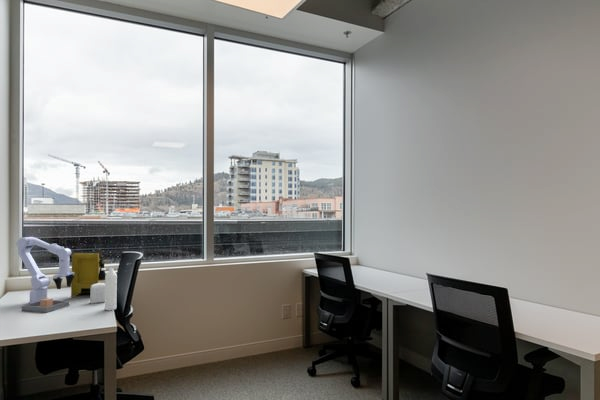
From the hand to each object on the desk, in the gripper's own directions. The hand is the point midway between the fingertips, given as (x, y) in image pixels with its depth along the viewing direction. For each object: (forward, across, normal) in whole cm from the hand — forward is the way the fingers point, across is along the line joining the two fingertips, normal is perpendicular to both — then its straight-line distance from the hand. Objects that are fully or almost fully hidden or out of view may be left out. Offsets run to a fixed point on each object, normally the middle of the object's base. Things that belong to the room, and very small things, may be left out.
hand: (63, 287), depth 243 cm
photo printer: (+10, +6, -22) cm, 25 cm away
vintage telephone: (+10, +23, -1) cm, 25 cm away
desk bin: (+9, -15, -2) cm, 18 cm away
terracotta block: (+9, -15, -3) cm, 18 cm away
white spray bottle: (+10, -7, -41) cm, 43 cm away
